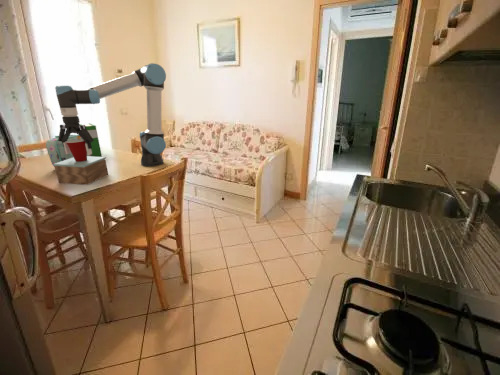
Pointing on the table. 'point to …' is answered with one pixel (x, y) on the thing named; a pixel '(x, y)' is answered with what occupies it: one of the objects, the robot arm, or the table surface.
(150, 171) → the table surface
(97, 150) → the hardback book
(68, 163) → the pale teal square panel
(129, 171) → the table surface
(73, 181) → the wooden box
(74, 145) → the plastic cup
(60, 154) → the lunch box
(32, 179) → the table surface
